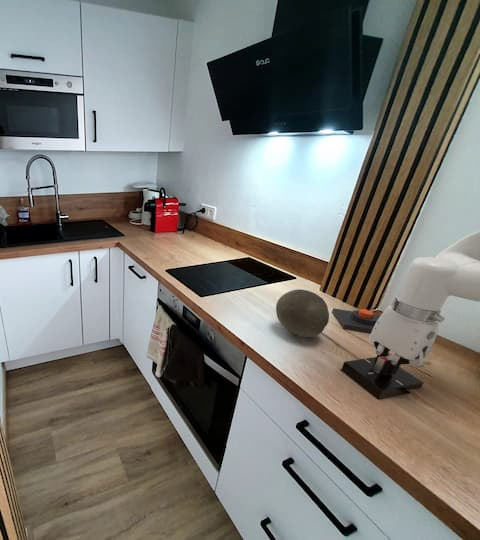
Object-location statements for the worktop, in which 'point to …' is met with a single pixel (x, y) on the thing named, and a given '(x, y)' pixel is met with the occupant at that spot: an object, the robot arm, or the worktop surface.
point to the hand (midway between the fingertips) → (383, 370)
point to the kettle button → (365, 313)
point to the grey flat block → (354, 320)
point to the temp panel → (380, 379)
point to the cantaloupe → (302, 313)
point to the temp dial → (381, 363)
